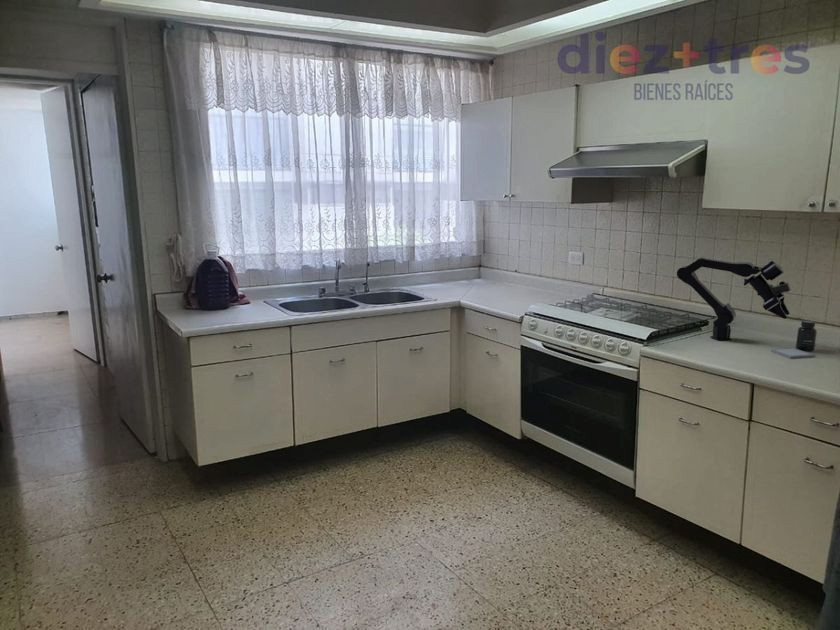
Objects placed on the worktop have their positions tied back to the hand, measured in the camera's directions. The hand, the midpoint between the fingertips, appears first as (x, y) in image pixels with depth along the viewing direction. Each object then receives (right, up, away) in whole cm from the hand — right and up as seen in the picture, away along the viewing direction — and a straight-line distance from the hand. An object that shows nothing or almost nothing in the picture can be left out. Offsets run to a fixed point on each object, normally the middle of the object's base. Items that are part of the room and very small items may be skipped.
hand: (787, 316), depth 263 cm
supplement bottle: (+6, -14, -3) cm, 15 cm away
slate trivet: (-3, -15, -9) cm, 18 cm away
